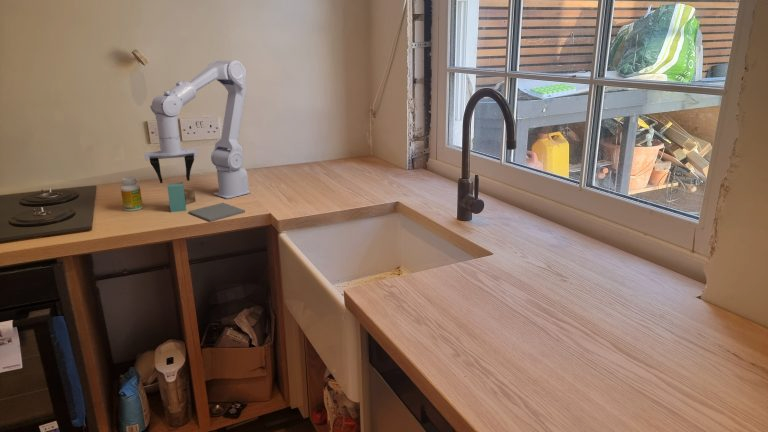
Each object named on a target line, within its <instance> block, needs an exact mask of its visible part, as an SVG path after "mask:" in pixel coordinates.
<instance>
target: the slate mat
mask: <svg viewBox="0 0 768 432" xmlns="http://www.w3.org/2000/svg"><path fill="white" fill-rule="evenodd" d="M244 213H246V209H242V208H239V207H236V206H235V205H230V204H227V203H225V202H221V203H216V204H213V205H208V206H204V207H201V208H196V209H192V210H189V211H188V214H189V215H192V216H194V217H197V218H200V219H203V220H205V221H207V222H215V221H218V220H221V219H225V218H230V217H233V216H237V215H239V214H244Z"/></svg>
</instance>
